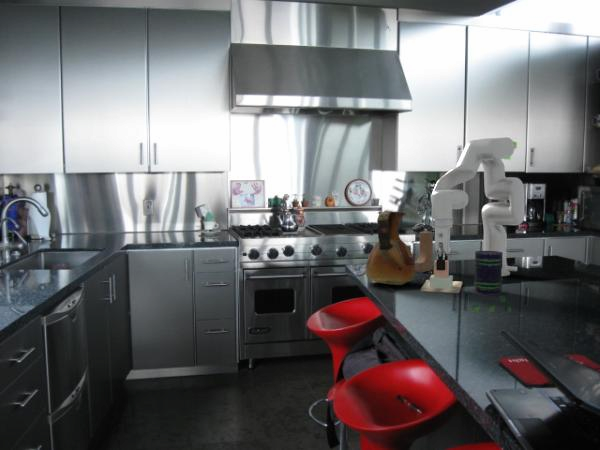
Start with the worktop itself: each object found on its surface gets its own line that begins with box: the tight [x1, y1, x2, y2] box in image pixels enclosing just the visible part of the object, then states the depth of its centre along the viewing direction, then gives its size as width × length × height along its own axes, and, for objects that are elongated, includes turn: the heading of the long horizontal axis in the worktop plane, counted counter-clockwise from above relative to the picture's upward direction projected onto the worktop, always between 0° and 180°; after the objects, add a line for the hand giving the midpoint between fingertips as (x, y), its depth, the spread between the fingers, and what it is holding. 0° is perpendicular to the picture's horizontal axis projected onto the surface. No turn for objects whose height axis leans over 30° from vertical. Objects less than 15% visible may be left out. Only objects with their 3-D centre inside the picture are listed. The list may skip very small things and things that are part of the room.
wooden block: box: [414, 230, 434, 273], centre depth 249 cm, size 9×4×18 cm, turn 131°
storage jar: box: [473, 250, 503, 296], centre depth 201 cm, size 10×10×15 cm
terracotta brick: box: [433, 259, 450, 278], centre depth 207 cm, size 5×5×6 cm
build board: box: [420, 279, 463, 294], centre depth 211 cm, size 14×18×1 cm
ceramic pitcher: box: [365, 210, 416, 286], centre depth 218 cm, size 20×20×30 cm
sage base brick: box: [429, 274, 454, 289], centre depth 208 cm, size 8×6×4 cm
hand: (442, 267), depth 207 cm, fingers open, 9 cm apart
